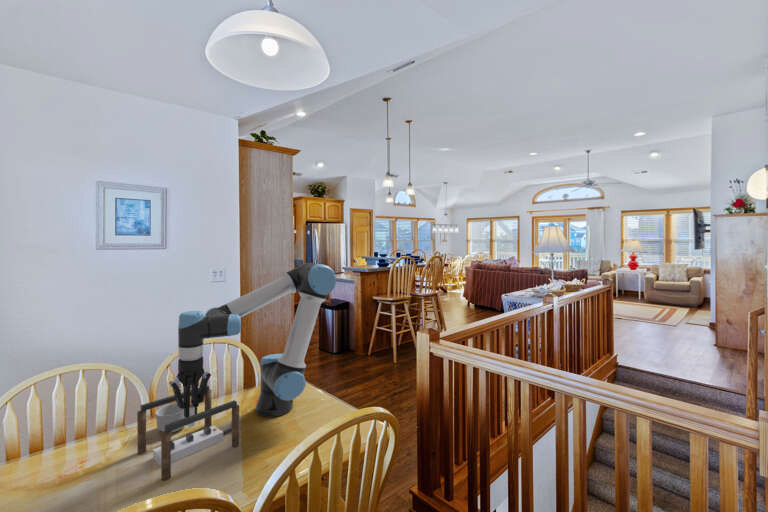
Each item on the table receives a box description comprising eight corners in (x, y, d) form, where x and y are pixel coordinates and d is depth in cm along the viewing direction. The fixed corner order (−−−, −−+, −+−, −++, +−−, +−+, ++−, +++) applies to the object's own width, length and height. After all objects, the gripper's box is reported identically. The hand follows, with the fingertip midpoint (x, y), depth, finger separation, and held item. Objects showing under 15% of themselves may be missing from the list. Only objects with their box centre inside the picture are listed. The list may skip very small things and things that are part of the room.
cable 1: (207, 389, 136) (207, 385, 136) (209, 390, 135) (209, 386, 135) (140, 409, 118) (140, 405, 118) (142, 411, 117) (142, 406, 117)
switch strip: (229, 426, 136) (229, 414, 136) (238, 433, 131) (239, 420, 131) (152, 458, 115) (152, 444, 115) (161, 467, 111) (161, 452, 111)
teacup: (173, 438, 127) (173, 416, 127) (148, 434, 129) (148, 413, 129) (201, 419, 141) (201, 399, 140) (177, 416, 143) (177, 397, 143)
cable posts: (209, 424, 137) (209, 388, 137) (240, 445, 124) (240, 406, 123) (136, 452, 118) (136, 411, 118) (163, 481, 104) (163, 435, 104)
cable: (234, 404, 123) (234, 400, 123) (236, 406, 122) (236, 401, 122) (164, 430, 106) (164, 425, 106) (167, 432, 105) (167, 427, 105)
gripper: (205, 350, 128) (204, 414, 128) (165, 359, 117) (165, 429, 118) (215, 355, 123) (214, 421, 124) (174, 364, 113) (174, 437, 114)
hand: (190, 425), depth 121 cm, fingers closed
